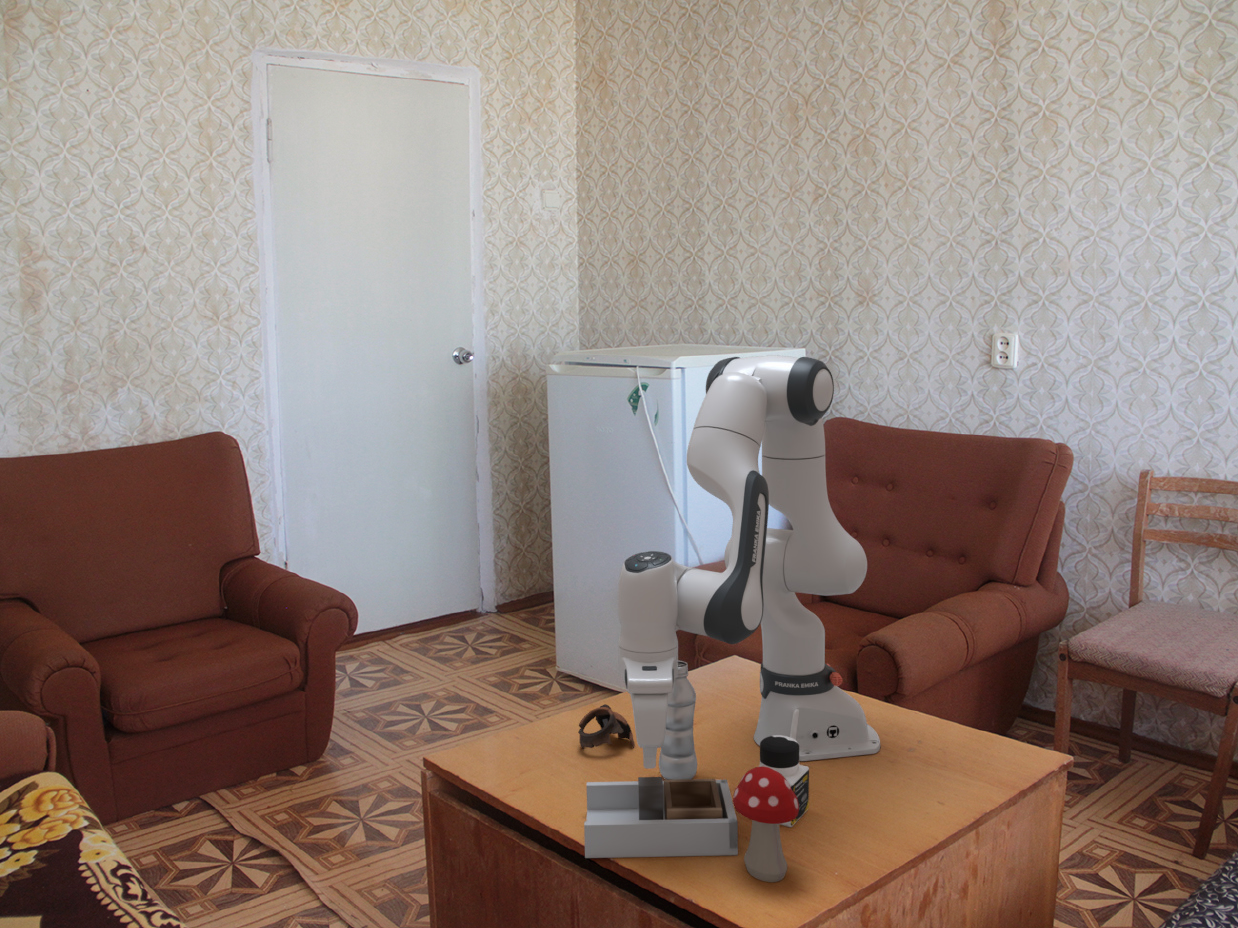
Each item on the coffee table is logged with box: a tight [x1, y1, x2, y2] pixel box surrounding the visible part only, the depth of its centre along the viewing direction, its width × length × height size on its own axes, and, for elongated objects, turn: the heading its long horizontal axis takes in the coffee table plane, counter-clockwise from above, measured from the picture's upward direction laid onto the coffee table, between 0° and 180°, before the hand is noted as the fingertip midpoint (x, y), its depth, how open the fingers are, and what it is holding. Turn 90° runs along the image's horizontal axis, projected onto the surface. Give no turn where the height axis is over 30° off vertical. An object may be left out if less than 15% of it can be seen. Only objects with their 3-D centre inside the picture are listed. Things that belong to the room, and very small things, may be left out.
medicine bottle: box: [757, 735, 810, 828], centre depth 161 cm, size 7×7×12 cm
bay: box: [583, 779, 739, 859], centre depth 156 cm, size 22×14×5 cm, turn 90°
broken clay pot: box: [578, 704, 636, 750], centre depth 189 cm, size 12×9×8 cm
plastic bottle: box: [658, 660, 698, 780], centre depth 173 cm, size 6×7×20 cm
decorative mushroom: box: [732, 766, 799, 883], centre depth 144 cm, size 10×9×15 cm
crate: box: [637, 776, 722, 820], centre depth 156 cm, size 12×10×7 cm
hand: (648, 753), depth 154 cm, fingers open, 8 cm apart
